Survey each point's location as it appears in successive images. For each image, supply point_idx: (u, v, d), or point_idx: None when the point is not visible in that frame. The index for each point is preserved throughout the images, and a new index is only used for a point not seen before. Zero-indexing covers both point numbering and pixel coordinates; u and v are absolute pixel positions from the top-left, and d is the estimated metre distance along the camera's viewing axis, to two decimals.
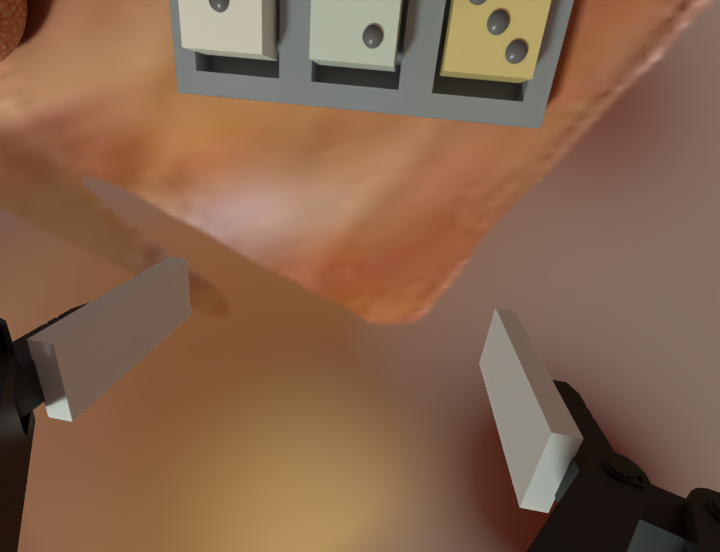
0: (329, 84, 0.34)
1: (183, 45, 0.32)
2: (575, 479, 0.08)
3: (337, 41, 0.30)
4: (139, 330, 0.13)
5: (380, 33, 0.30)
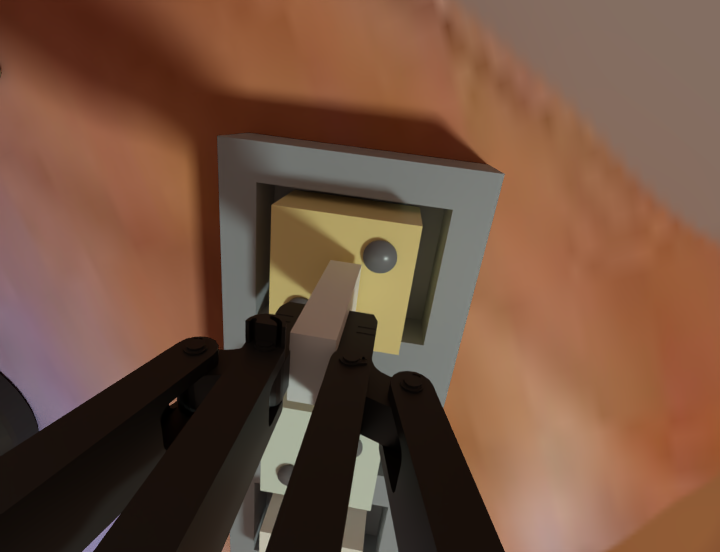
0: None
1: None
2: (323, 380, 0.10)
3: None
4: None
5: None
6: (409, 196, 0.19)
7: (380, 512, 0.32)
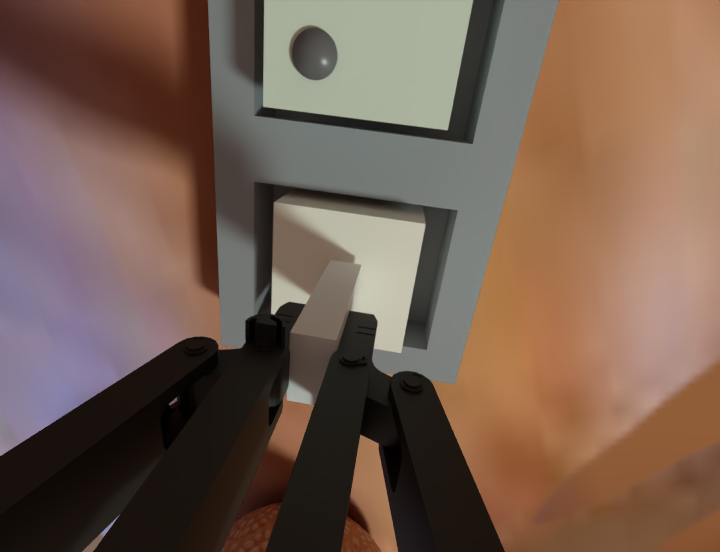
0: (484, 102, 0.16)
1: (398, 350, 0.20)
2: (323, 380, 0.10)
3: (421, 55, 0.13)
4: None
5: None
6: None
7: (432, 278, 0.23)
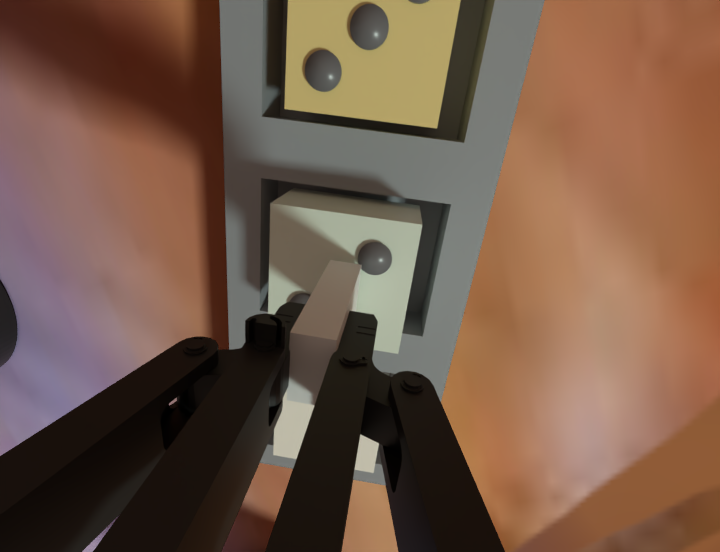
0: (429, 311, 0.22)
1: (371, 471, 0.26)
2: (323, 380, 0.10)
3: (377, 311, 0.19)
4: None
5: (370, 245, 0.18)
6: None
7: None
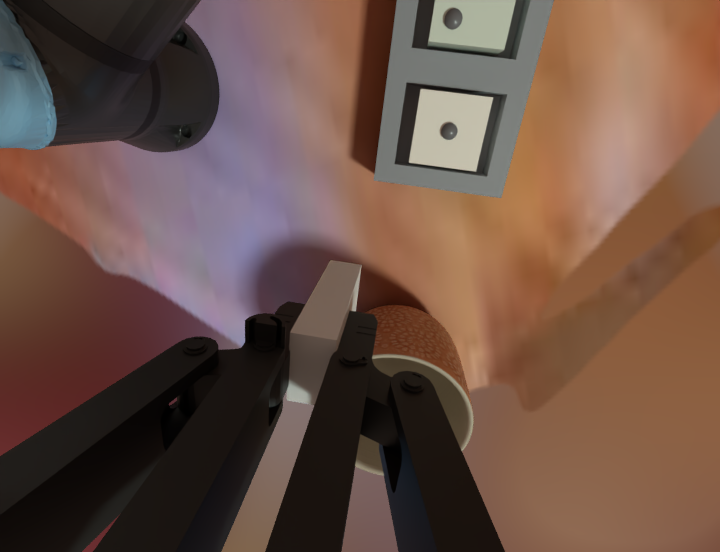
0: (522, 38, 0.35)
1: (474, 169, 0.39)
2: (323, 380, 0.10)
3: (495, 18, 0.34)
4: None
5: None
6: None
7: (488, 144, 0.42)
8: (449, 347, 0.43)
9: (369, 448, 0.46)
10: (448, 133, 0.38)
